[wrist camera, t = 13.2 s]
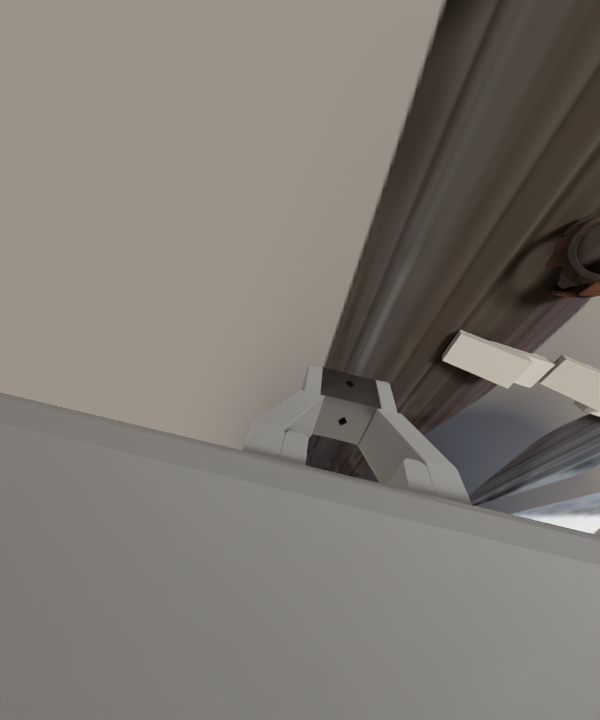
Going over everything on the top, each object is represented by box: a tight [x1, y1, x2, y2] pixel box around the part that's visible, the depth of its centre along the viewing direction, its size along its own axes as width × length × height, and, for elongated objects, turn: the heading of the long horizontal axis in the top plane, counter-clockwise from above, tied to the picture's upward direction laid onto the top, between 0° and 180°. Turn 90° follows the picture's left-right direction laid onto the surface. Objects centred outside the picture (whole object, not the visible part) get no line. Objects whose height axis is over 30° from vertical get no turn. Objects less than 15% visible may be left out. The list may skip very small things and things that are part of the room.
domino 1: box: [442, 330, 533, 388], centre depth 40 cm, size 2×5×10 cm
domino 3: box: [539, 355, 600, 412], centre depth 39 cm, size 2×5×10 cm
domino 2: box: [490, 341, 555, 388], centre depth 42 cm, size 2×5×10 cm
